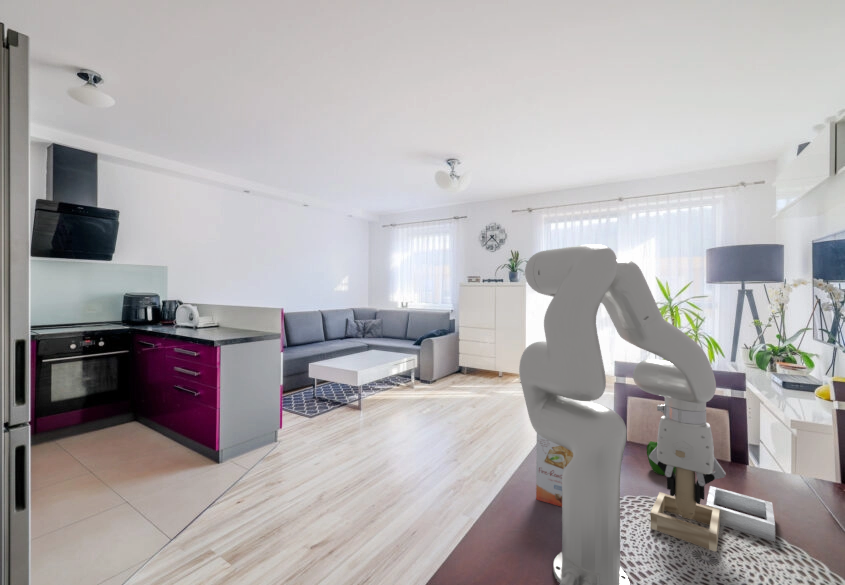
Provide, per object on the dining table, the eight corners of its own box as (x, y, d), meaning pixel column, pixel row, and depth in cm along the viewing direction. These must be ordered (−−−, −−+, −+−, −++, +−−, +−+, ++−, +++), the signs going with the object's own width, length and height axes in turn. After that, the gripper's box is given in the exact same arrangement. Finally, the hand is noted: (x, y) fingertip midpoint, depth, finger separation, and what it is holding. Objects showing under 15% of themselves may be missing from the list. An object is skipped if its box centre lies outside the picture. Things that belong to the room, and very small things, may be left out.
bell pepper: (640, 470, 109) (640, 436, 109) (654, 463, 113) (654, 430, 113) (672, 482, 102) (672, 446, 102) (686, 474, 106) (685, 439, 106)
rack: (716, 552, 74) (716, 534, 74) (650, 528, 81) (650, 512, 81) (719, 525, 83) (719, 509, 83) (659, 506, 90) (659, 491, 90)
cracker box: (535, 501, 92) (535, 417, 92) (540, 490, 97) (541, 410, 97) (597, 518, 85) (597, 427, 85) (599, 505, 90) (599, 419, 90)
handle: (708, 520, 80) (707, 451, 80) (682, 523, 79) (681, 453, 79) (688, 508, 85) (688, 442, 85) (663, 510, 84) (663, 444, 84)
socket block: (775, 542, 77) (775, 525, 77) (706, 520, 85) (706, 504, 85) (772, 517, 86) (772, 502, 86) (710, 499, 93) (709, 485, 93)
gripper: (638, 410, 85) (638, 490, 85) (733, 427, 74) (734, 520, 74) (645, 403, 91) (645, 478, 90) (734, 418, 80) (735, 504, 79)
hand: (685, 496), depth 82 cm, fingers closed on handle, 4 cm apart
